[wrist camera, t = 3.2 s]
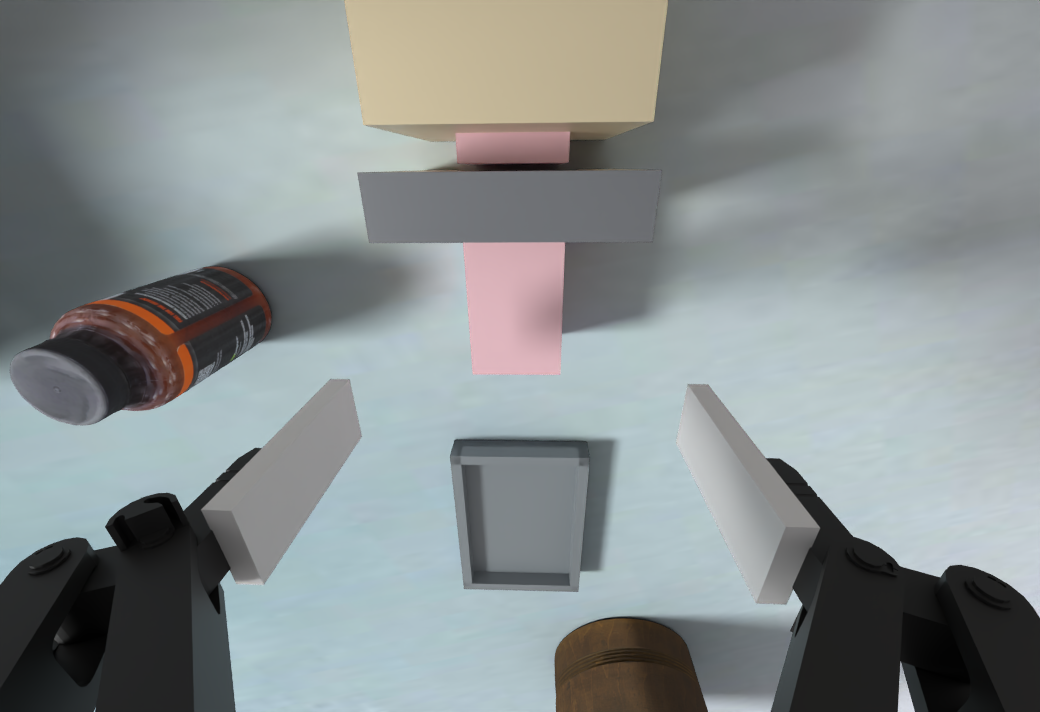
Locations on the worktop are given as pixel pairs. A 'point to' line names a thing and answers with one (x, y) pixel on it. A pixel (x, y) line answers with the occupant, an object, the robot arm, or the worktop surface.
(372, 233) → the dispenser
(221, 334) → the supplement bottle
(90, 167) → the worktop surface
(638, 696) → the wooden container
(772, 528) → the robot arm
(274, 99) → the worktop surface
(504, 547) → the tray
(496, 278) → the pink rectangular block
